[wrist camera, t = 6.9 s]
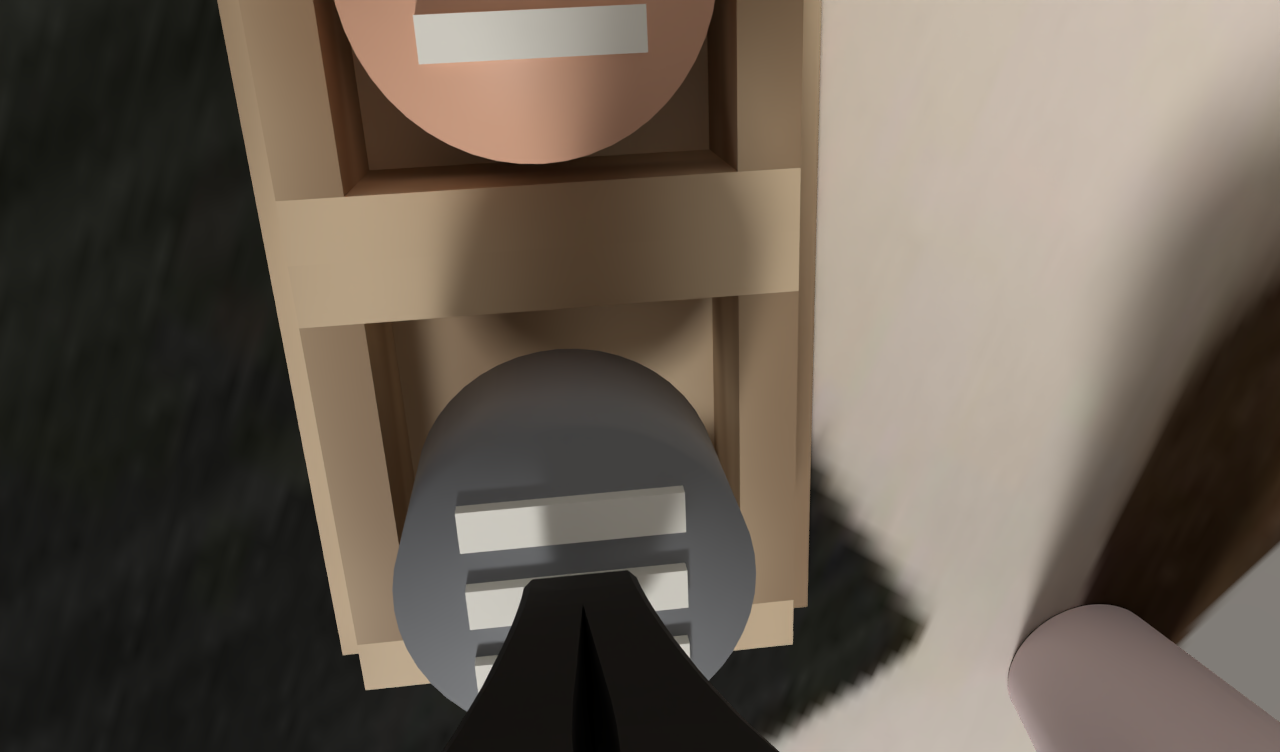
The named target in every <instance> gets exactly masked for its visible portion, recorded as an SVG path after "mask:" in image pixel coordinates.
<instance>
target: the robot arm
mask: <svg viewBox="0 0 1280 752" xmlns="http://www.w3.org/2000/svg"><path fill="white" fill-rule="evenodd" d="M442 752H779V751H778V750H777V749H776V748H775V747H774V746H772V745H771V744H770V743H769V742H768V741H767V740H766V739H765V738H764V737H762V736H761V735H760V734H759V733H758V732H757V731H756V730H755V729H754V728H753V727H752V726H751V725H750V724H749V723H748V722H747V721H746V720H745V719H744V718H743V717H742V716H741V715H740V714H739V713H738V712H737V711H736V710H735V709H734V708H733V707H732V706H731V705H730V704H729V703H728V702H727V701H726V700H725V698H724V697H723V696H722V695H721V694H720V693H719V692H718V691H717V690H716V689H715V688H714V687H713V685H712V684H711V683H710V682H709V681H708V680H707V678H706V677H705V676H704V675H703V674H702V673H701V671H700V670H699V669H698V668H697V667H696V665H695V664H694V663H693V662H692V660H691V659H690V658H689V656H688V655H687V654H686V653H685V651H684V650H683V649H682V648H681V646H680V645H679V644H678V643H677V641H676V640H675V639H674V637H673V636H672V634H671V633H670V632H669V630H668V629H667V628H666V626H665V625H664V623H663V622H662V620H661V619H660V617H659V616H658V614H657V613H656V611H655V610H654V608H653V607H652V605H651V603H650V602H649V600H648V598H647V597H646V595H645V593H644V591H643V589H642V588H641V586H640V584H639V582H638V579H637V577H636V576H634V575H633V574H632V573H631V572H630V571H628V570H623V571H613V572H603V573H593V574H582V575H572V576H562V577H552V578H542V579H532V580H531V581H530V582H529V583H528V584H527V585H526V586H525V587H524V589H523V594H522V598H521V601H520V604H519V607H518V610H517V613H516V615H515V618H514V621H513V623H512V626H511V628H510V630H509V632H508V635H507V637H506V639H505V642H504V644H503V646H502V648H501V650H500V652H499V654H498V656H497V658H496V660H495V662H494V664H493V666H492V668H491V670H490V672H489V674H488V676H487V678H486V680H485V682H484V684H483V686H482V688H481V689H480V691H479V693H478V695H477V696H476V698H475V700H474V701H473V703H472V705H471V706H470V708H469V710H468V711H467V713H466V715H465V716H464V718H463V720H462V721H461V723H460V725H459V726H458V728H457V730H456V731H455V733H454V734H453V736H452V738H451V739H450V741H449V742H448V744H447V745H446V747H445V748H444V750H443V751H442Z"/></svg>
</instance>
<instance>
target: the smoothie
mask: <svg viewBox="0 0 1280 752" xmlns="http://www.w3.org/2000/svg"><path fill="white" fill-rule="evenodd" d="M1008 690H1009V695H1010V698H1011V701H1012V703H1013V705H1014V707H1015V709H1016V711H1017V713H1018V715H1019V717H1020V719H1021V721H1022V723H1023V725H1024V727H1025V729H1026V731H1027V733H1028V735H1029V737H1030V739H1031V741H1032V743H1033V746H1034V748H1035V750H1036V752H1280V722H1279V721H1277V720H1276V719H1275V718H1273V717H1272V716H1271V715H1269V714H1268V713H1267V712H1265V711H1264V710H1263V709H1261V708H1260V707H1259V706H1257V705H1256V704H1255V703H1253V702H1252V701H1250V700H1249V699H1248V698H1247V697H1245V696H1244V695H1243V694H1241V693H1240V692H1238V691H1237V690H1236V689H1235V688H1233V687H1232V686H1230V685H1229V684H1228V683H1226V682H1225V681H1224V680H1222V679H1221V678H1220V677H1218V676H1217V675H1216V674H1214V673H1213V672H1212V671H1210V670H1209V669H1208V668H1206V667H1205V666H1204V665H1202V664H1201V663H1200V662H1198V661H1197V660H1196V659H1194V658H1193V657H1192V656H1190V655H1189V654H1188V653H1186V652H1185V651H1184V650H1182V649H1181V648H1180V647H1178V646H1177V645H1176V644H1174V643H1173V642H1172V641H1170V640H1169V639H1168V638H1166V637H1165V636H1164V635H1162V634H1161V633H1160V632H1158V631H1157V630H1156V629H1154V628H1153V627H1152V626H1150V625H1149V624H1148V623H1146V622H1145V621H1144V620H1142V619H1141V618H1140V617H1138V616H1137V615H1135V614H1134V613H1132V612H1131V611H1129V610H1127V609H1124V608H1121V607H1118V606H1113V605H1105V604H1094V605H1086V606H1081V607H1077V608H1073V609H1070V610H1067V611H1065V612H1063V613H1060V614H1058V615H1056V616H1054V617H1053V618H1051V619H1049V620H1048V621H1046V622H1045V623H1043V624H1042V625H1041V626H1039V627H1038V628H1037V629H1036V630H1035V631H1034V632H1032V633H1031V635H1030V636H1029V637H1028V638H1027V639H1026V640H1025V641H1024V642H1023V644H1022V645H1021V647H1020V648H1019V650H1018V651H1017V653H1016V655H1015V657H1014V659H1013V661H1012V664H1011V667H1010V671H1009V676H1008Z"/></svg>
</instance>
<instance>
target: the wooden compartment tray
mask: <svg viewBox="0 0 1280 752" xmlns="http://www.w3.org/2000/svg"><path fill="white" fill-rule="evenodd" d="M217 1H218V7H219V12H220V17H221V22H222V27H223V33H224V38H225V43H226V48H227V53H228V59H229V64H230V69H231V74H232V80H233V85H234V90H235V95H236V100H237V106H238V111H239V116H240V121H241V126H242V132H243V137H244V142H245V147H246V153H247V158H248V163H249V168H250V173H251V179H252V184H253V189H254V194H255V199H256V205H257V210H258V215H259V220H260V226H261V231H262V236H263V241H264V246H265V252H266V257H267V262H268V267H269V272H270V278H271V283H272V288H273V293H274V299H275V304H276V309H277V314H278V319H279V325H280V330H281V335H282V340H283V345H284V351H285V356H286V361H287V366H288V372H289V377H290V382H291V387H292V392H293V398H294V403H295V408H296V413H297V418H298V424H299V429H300V434H301V439H302V445H303V450H304V455H305V460H306V465H307V471H308V476H309V481H310V486H311V491H312V497H313V502H314V507H315V512H316V518H317V523H318V528H319V533H320V538H321V544H322V549H323V554H324V559H325V564H326V570H327V575H328V580H329V585H330V591H331V596H332V601H333V606H334V611H335V617H336V622H337V627H338V632H339V637H340V643H341V648H342V653H343V655H348V654H358V653H359V657H360V662H361V668H362V673H363V678H364V684H365V689H366V690H372V689H381V688H391V687H400V686H409V685H418V684H428V683H430V681H429V680H428V679H427V678H426V677H425V675H424V674H423V673H422V672H421V671H420V669H419V668H418V667H417V665H416V664H415V662H414V660H413V659H412V657H411V655H410V654H409V652H408V650H407V648H406V646H405V644H404V641H403V639H402V637H401V634H400V632H399V629H398V624H397V620H396V616H395V612H394V604H393V592H392V588H393V574H394V566H395V562H396V558H397V553H398V549H399V545H400V540H401V536H402V532H403V528H404V523H405V519H406V515H407V511H408V506H409V502H410V498H411V494H412V489H413V485H414V481H415V477H416V472H417V468H418V464H419V460H420V455H421V451H422V448H423V446H424V443H425V441H426V438H427V436H428V433H429V431H430V429H431V428H432V426H433V424H434V422H435V421H436V419H437V417H438V416H439V414H440V413H441V412H442V411H443V409H444V408H445V407H446V405H447V404H448V403H449V402H450V400H452V399H453V398H454V397H455V396H456V395H457V394H458V393H459V392H460V391H461V390H462V389H463V388H464V387H465V386H466V385H468V384H469V383H470V382H472V381H473V380H474V379H476V378H477V377H478V376H480V375H481V374H483V373H485V372H487V371H488V370H490V369H492V368H494V367H496V366H497V365H500V364H502V363H504V362H507V361H509V360H512V359H514V358H517V357H520V356H524V355H528V354H531V353H535V352H540V351H547V350H554V349H586V350H596V351H602V352H606V353H610V354H615V355H619V356H621V357H624V358H627V359H629V360H632V361H635V362H637V363H639V364H641V365H643V366H645V367H647V368H649V369H651V370H653V371H654V372H656V373H657V374H659V375H660V376H662V377H663V378H664V379H666V380H667V381H669V382H670V383H671V384H672V385H673V386H674V387H675V388H676V389H677V390H678V391H680V392H681V393H682V394H683V395H684V396H685V398H686V399H687V400H688V401H689V403H690V404H691V405H692V406H693V408H694V409H695V410H696V412H697V414H698V415H699V417H700V419H701V420H702V422H703V424H704V426H705V428H706V430H707V433H708V435H709V437H710V440H711V442H712V444H713V447H714V449H715V452H716V454H717V456H718V459H719V461H720V463H721V466H722V468H723V470H724V473H725V475H726V478H727V480H728V482H729V485H730V487H731V489H732V492H733V494H734V496H735V499H736V501H737V504H738V506H739V508H740V511H741V513H742V515H743V518H744V520H745V523H746V525H747V528H748V530H749V533H750V536H751V540H752V544H753V549H754V553H755V564H756V584H755V595H754V599H753V604H752V608H751V613H750V616H749V618H748V621H747V624H746V626H745V629H744V631H743V634H742V635H741V637H740V639H739V641H738V643H737V645H736V646H735V648H734V650H743V649H753V648H762V647H771V646H780V645H790V644H793V608H798V607H807V597H808V554H809V511H810V468H811V425H812V383H813V340H814V297H815V254H816V211H817V168H818V125H819V82H820V39H821V0H715V3H714V9H713V14H712V17H711V21H710V24H709V27H708V31H707V34H706V38H705V40H704V42H703V45H702V47H701V49H700V51H699V54H698V56H697V58H696V61H695V62H694V64H693V66H692V68H691V69H690V71H689V73H688V74H687V76H686V78H685V80H684V81H683V83H682V84H681V85H680V87H679V88H678V89H677V91H676V92H675V93H674V94H673V96H672V97H671V98H670V100H669V101H668V102H667V103H666V104H665V105H664V106H663V107H662V108H661V109H660V110H659V111H658V112H657V113H656V114H655V115H654V116H653V117H652V118H651V119H650V120H649V121H648V122H646V123H645V124H644V125H642V126H641V127H640V128H639V129H637V130H636V131H635V132H633V133H632V134H630V135H629V136H627V137H625V138H624V139H622V140H620V141H618V142H617V143H615V144H613V145H611V146H609V147H607V148H604V149H602V150H600V151H597V152H595V153H592V154H590V155H587V156H583V157H579V158H575V159H572V160H568V161H562V162H554V163H546V164H517V163H510V162H502V161H495V160H492V159H488V158H484V157H480V156H477V155H473V154H470V153H468V152H465V151H463V150H461V149H458V148H456V147H453V146H451V145H449V144H447V143H445V142H443V141H442V140H440V139H438V138H436V137H435V136H433V135H431V134H429V133H428V132H426V131H425V130H423V129H422V128H421V127H419V126H418V125H417V124H415V123H414V122H413V121H411V120H410V119H409V118H407V117H406V116H405V115H404V114H403V113H402V112H401V111H400V110H399V109H398V108H397V107H396V106H395V105H394V104H393V103H391V102H390V101H389V100H388V99H387V97H386V96H385V95H384V94H383V93H382V91H381V90H380V89H379V88H378V86H377V85H376V84H375V83H374V82H373V80H372V79H371V78H370V76H369V75H368V73H367V72H366V70H365V68H364V67H363V65H362V64H361V62H360V61H359V59H358V58H357V56H356V54H355V52H354V50H353V48H352V46H351V44H350V42H349V40H348V37H347V35H346V33H345V31H344V29H343V26H342V23H341V20H340V17H339V14H338V11H337V8H336V5H335V1H334V0H217ZM734 650H733V651H734Z"/></svg>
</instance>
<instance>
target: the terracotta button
mask: <svg viewBox="0 0 1280 752" xmlns="http://www.w3.org/2000/svg"><path fill="white" fill-rule="evenodd" d="M334 1H335V5H336V8H337V11H338V14H339V17H340V20H341V23H342V26H343V29H344V31H345V33H346V35H347V37H348V40H349V42H350V44H351V46H352V48H353V50H354V52H355V54H356V56H357V58H358V59H359V61H360V62H361V64H362V65H363V67H364V68H365V70H366V72H367V73H368V75H369V76H370V78H371V79H372V80H373V82H374V83H375V84H376V85H377V86H378V88H379V89H380V90H381V91H382V93H383V94H384V95H385V96H386V97H387V99H388V100H389V101H390V102H391V103H393V104H394V105H395V106H396V107H397V108H398V109H399V110H400V111H401V112H402V113H403V114H404V115H405V116H406V117H407V118H409V119H410V120H411V121H413V122H414V123H415V124H417V125H418V126H419V127H421V128H422V129H423V130H425V131H426V132H428V133H429V134H431V135H433V136H435V137H436V138H438V139H440V140H442V141H443V142H445V143H447V144H449V145H451V146H453V147H456V148H458V149H461V150H463V151H465V152H468V153H470V154H473V155H477V156H480V157H484V158H488V159H492V160H495V161H502V162H510V163H517V164H546V163H554V162H562V161H568V160H572V159H575V158H579V157H583V156H587V155H590V154H592V153H595V152H597V151H600V150H602V149H604V148H607V147H609V146H611V145H613V144H615V143H617V142H618V141H620V140H622V139H624V138H625V137H627V136H629V135H630V134H632V133H633V132H635V131H636V130H637V129H639V128H640V127H641V126H642V125H644V124H645V123H646V122H648V121H649V120H650V119H651V118H652V117H653V116H654V115H655V114H656V113H657V112H658V111H659V110H660V109H661V108H662V107H663V106H664V105H665V104H666V103H667V102H668V101H669V100H670V98H671V97H672V96H673V94H674V93H675V92H676V91H677V89H678V88H679V87H680V85H681V84H682V83H683V81H684V80H685V78H686V76H687V74H688V73H689V71H690V69H691V68H692V66H693V64H694V62H695V61H696V58H697V56H698V54H699V51H700V49H701V47H702V45H703V42H704V40H705V38H706V34H707V31H708V27H709V24H710V21H711V17H712V14H713V9H714V3H715V0H334Z"/></svg>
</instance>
